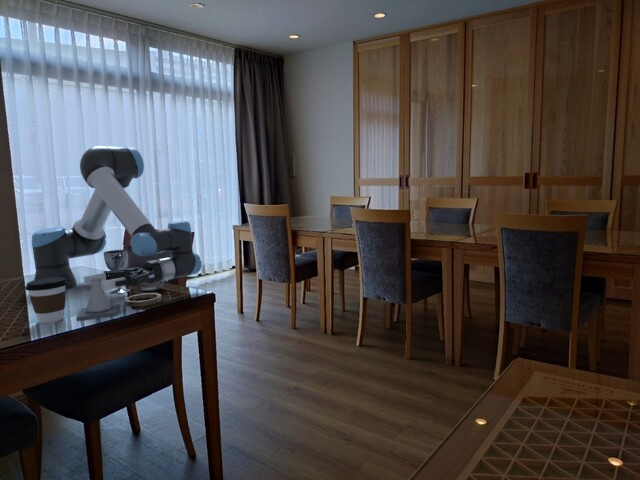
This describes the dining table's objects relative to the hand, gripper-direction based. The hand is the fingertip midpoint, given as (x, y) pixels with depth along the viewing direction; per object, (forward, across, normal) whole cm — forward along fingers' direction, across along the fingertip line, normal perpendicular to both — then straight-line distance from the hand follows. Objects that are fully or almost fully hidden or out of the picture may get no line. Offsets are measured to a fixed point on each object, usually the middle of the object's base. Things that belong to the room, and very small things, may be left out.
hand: (93, 283), depth 144 cm
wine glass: (-18, +24, -10) cm, 31 cm away
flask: (-1, 0, -9) cm, 9 cm away
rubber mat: (-1, 0, -10) cm, 10 cm away
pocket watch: (-27, +14, -10) cm, 32 cm away
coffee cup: (+11, +5, -10) cm, 16 cm away
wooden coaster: (-16, +1, -10) cm, 18 cm away
